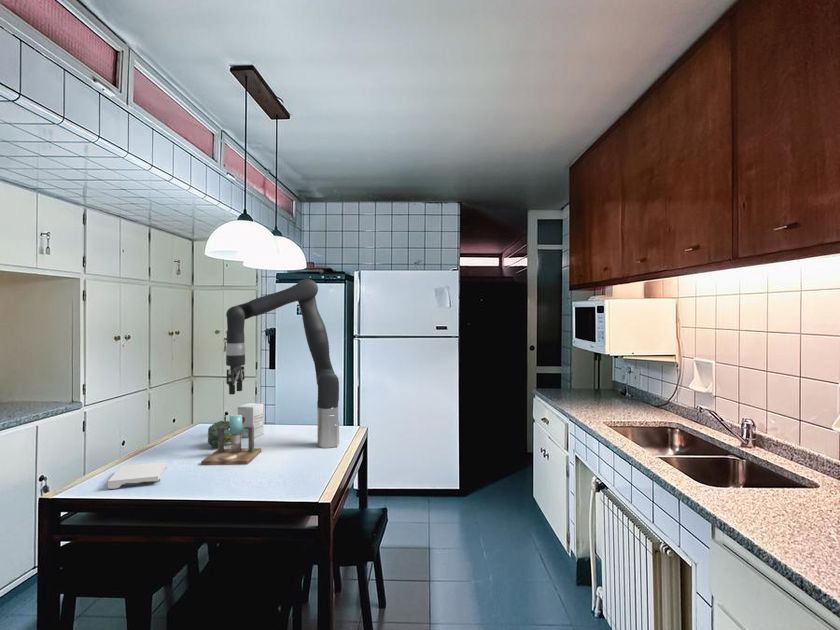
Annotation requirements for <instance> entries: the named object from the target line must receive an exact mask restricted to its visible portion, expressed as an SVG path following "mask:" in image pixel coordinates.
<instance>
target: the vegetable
mask: <svg viewBox="0 0 840 630" xmlns="http://www.w3.org/2000/svg"><path fill="white" fill-rule="evenodd" d="M220 426H228V429H224V431H225V430H230V420H229V421H228V420H225V421H224V420H219V421H217V422H214V423H213V424H212V425H210V426H209V427H208V428H207V443H208V444H209V446H212V447H214V448H216V449H218V427H220ZM242 438H243V437H241V439H242ZM228 443H231V434H230V433H224V445H225V444H228Z"/></svg>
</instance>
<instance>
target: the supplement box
mask: <svg viewBox="0 0 840 630" xmlns="http://www.w3.org/2000/svg"><path fill="white" fill-rule="evenodd" d="M264 405H265V404H264V403H255V402H254V403H250V402H248V403H245V404H240V405H237V415H242V430H248V429H244V427H245V426H254V438H257V437H259V436H261V435H263V434H264V431H265V429H264V419H265V418H264V417H265V415H264V410H265V409H264ZM264 435H265V434H264ZM241 437H242V438H247V439H248V432H247V433H241Z"/></svg>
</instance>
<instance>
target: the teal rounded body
mask: <svg viewBox="0 0 840 630" xmlns="http://www.w3.org/2000/svg"><path fill="white" fill-rule="evenodd" d="M229 422H230V428H229V430H225V431H224V433H230V434H240V433H247V432H248V430H242V415H238V414H230V416H229Z"/></svg>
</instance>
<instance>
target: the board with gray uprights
mask: <svg viewBox="0 0 840 630" xmlns="http://www.w3.org/2000/svg"><path fill="white" fill-rule="evenodd" d="M224 429H228V426H220V427H218V448H217V450H215V451H214V452H213V453H211V454H210V455H208V456H206V457H205V458H204V459H203V460H201V462H200V465H201V466H232V465H233V466H234V465H235V466H240V465H241V466H245V465H249V464H250V463H251V462H252V461H254V459H255V458H257V457H258V456H259V455H260V454H261V453H262V447H257V448H255V437H254V426H245V427H244V429H248V438H247V439H248V440H247V441H248V442H247V447H248V448H242V438H241V433H240V434H231V442H230V448H225V444H224Z"/></svg>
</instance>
